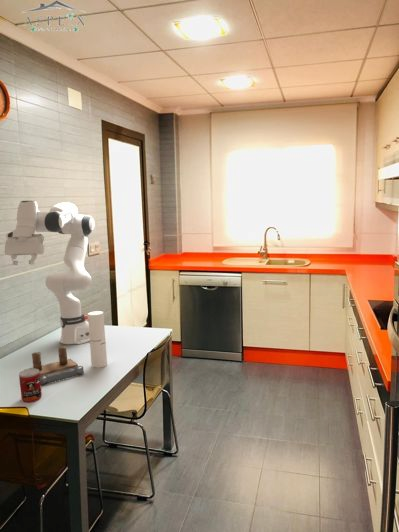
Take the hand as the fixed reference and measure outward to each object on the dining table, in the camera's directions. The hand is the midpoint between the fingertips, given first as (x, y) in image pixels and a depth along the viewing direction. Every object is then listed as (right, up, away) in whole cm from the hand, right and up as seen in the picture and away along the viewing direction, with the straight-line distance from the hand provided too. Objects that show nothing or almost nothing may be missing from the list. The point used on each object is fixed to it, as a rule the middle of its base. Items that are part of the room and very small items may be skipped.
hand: (23, 264), depth 205 cm
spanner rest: (+11, -49, +5) cm, 50 cm away
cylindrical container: (+33, -47, +9) cm, 58 cm away
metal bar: (+19, -50, -6) cm, 54 cm away
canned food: (+13, -53, -25) cm, 61 cm away
